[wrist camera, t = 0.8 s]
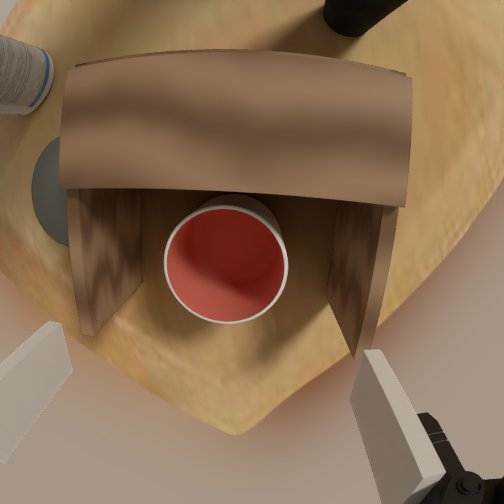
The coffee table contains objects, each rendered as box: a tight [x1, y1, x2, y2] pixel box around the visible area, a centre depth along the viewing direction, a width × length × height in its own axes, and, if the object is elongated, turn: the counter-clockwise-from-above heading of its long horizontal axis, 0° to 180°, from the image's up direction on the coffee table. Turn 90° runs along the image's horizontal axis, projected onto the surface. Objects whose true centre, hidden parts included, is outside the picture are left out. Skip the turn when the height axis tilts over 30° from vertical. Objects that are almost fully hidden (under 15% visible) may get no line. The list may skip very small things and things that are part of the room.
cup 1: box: [164, 194, 288, 324], centre depth 30 cm, size 10×10×10 cm
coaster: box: [32, 137, 69, 246], centre depth 33 cm, size 14×14×1 cm
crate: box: [59, 49, 412, 360], centre depth 26 cm, size 22×24×14 cm
